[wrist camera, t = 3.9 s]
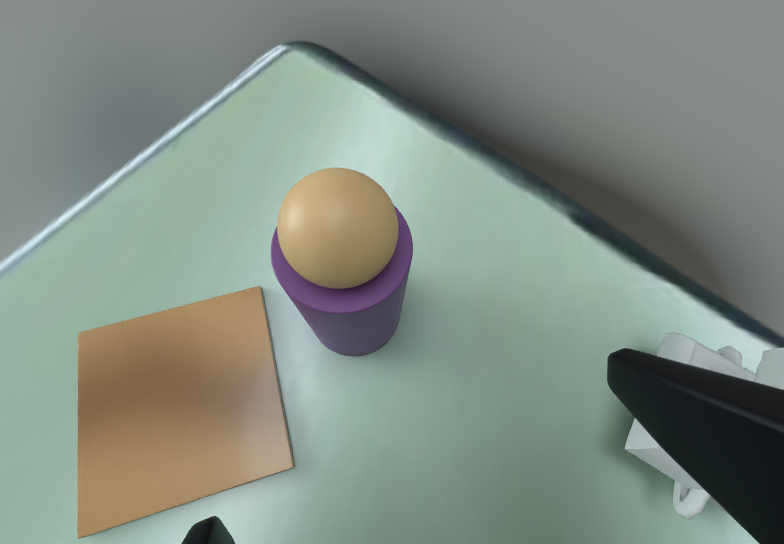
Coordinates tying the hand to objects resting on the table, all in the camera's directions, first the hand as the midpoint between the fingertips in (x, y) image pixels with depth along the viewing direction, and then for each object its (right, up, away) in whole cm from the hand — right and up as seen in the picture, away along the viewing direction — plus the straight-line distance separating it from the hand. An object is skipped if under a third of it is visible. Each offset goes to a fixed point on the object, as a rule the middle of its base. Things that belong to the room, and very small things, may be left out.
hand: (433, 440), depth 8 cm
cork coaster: (-12, -3, +12) cm, 17 cm away
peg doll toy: (-3, +1, +14) cm, 14 cm away
